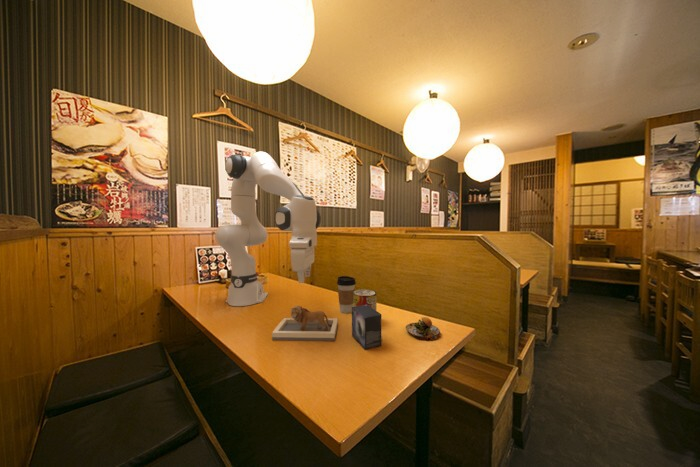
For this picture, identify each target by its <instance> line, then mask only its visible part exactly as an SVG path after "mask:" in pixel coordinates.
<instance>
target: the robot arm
mask: <svg viewBox="0 0 700 467" xmlns="http://www.w3.org/2000/svg"><path fill="white" fill-rule="evenodd" d="M225 171H226V172H225V173H226V174H227V175H228V177H229V178H233V179H232V184H231V189H230V190H231V191H230V192H231V193H230V211H231V213H232V214H233V215H234V216H235V217H238V218H239V221H240V223H239V224H227V225H221V226H219V227H218V228H217V229H216V231H215V235H214V237H215V241H216V243H217V244H218V246H220V248H223V249H224V250H225V251H226V253H227V255H228V257H229V259H230V267H231V270H230V271H231V274H230V284H229V285H228V295H227V299H226V300H225V303H227V304H228V305H229V306H232V307H246V306H251V305H255V304H260V303H264V301H265V299H266V298H267V297H268V295H269V294H268V292H267V291H264V285H263V284H262V283H261V282H260V281H259V280H258V277H259V275H260V274H259V273H260V272H256V267H257V266H256V258H255V257H254V256H253V255H252V254H251V253H248V252H247V249H246V247H251V246H252V247H253V246H258V245H263V244H264V243H265V242H266V241H267V239H268V231H267V229H266V228H265V227H264V225H263V224H261V222H260V221H259V218H258V215H257V210H256V207H257V206H256V201H257V200H256V196H257V195H256V194H257V193H256V186H257V185H258V186H259V187H260V189H261V190H263V191H264V192H265V193H270V194H272V195H276V196H280V197H282V198H285V199H287V200H288V201H289V203H287V204H285V205H283V206H279V207H278V208H277V210H276V211H275V214H274V223H275V226H276V227H277V228H278V229H279V230H280V231H284V232H291V238H290V240H289V242H288V247H289V249H290V262H291V263H290V264H291V269H292V272H296V275H297V280H298V283H299V284H304V282H305V277H306V278H309V277H311V269H312V264H313V263H315V247H316V246H318V240H317V239H318V236H317V235H318V233H317V232H318V230H317V229H318V228H319V226H320V225H321V221H322V216H321V213H320V210H318V208H317V204H316V201H315V198H314V197H311V196H306V195H305V194H303V192H302V191H301V190H300V188H299V187H298V186H297V185H296V184H295V183H294V182H293V181H291V179H290V178H288V177H287V176H286V175H285V174H284V172H283V171H282V170H281V168H280V167H279V165H278V163H277V162H276V160H274V158H273V157H272V156H271V154H269V153H267V152H265V151H257V152H255V153H253V154H252V155H251V156H249V155H241V154H230V155H229V156H228V157H227V158H226V162H225Z"/></svg>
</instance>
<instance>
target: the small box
mask: <svg viewBox="0 0 700 467" xmlns="http://www.w3.org/2000/svg"><path fill="white" fill-rule="evenodd" d="M351 337H352V338H354V340H355V341H357V343H358V344H359V345H360V346H361V347H362V348H363V350H364V351H365V350H366V351H367V350H370V349H371V350H372V349H375V348H379V347H382V345H383V344H382V314H381V313H380V312H379V311H377V309H376V310H374V309H373V308H371V307H370V306H368V305H367V304H366V305H361V306H355V307H354V306H353V307H352V312H351Z"/></svg>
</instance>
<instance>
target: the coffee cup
mask: <svg viewBox="0 0 700 467" xmlns="http://www.w3.org/2000/svg"><path fill="white" fill-rule="evenodd" d="M336 284H337V287H338V288H337V294H338V295H337V296H338V303H339V304H338V305H339V311H340V313H344V314H352V307H354V299H353V292H354V291H356V288H355V286H356V284H357V283H356V278H355V277H351V276H348V275H342V276H341V275H340V276H338V277H337V282H336Z"/></svg>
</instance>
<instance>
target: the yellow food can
mask: <svg viewBox="0 0 700 467" xmlns="http://www.w3.org/2000/svg"><path fill="white" fill-rule="evenodd" d="M353 299H354V305H353V307H355V306H361V305H366V304H367V305H368V306H370V307H371V308H373V309H374V310H376V311H377V292H376V291H375V290H372V289H358V290H357V289H356V290H355V291H354V292H353Z"/></svg>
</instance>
